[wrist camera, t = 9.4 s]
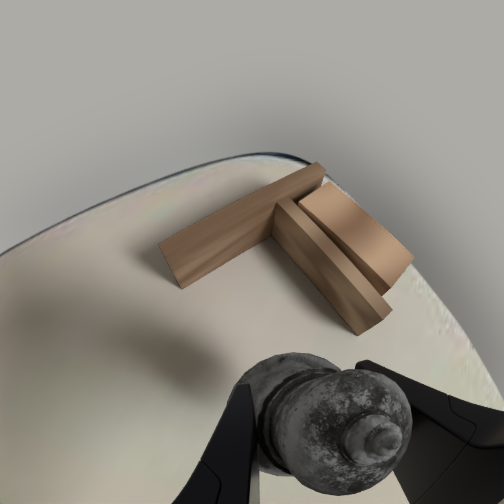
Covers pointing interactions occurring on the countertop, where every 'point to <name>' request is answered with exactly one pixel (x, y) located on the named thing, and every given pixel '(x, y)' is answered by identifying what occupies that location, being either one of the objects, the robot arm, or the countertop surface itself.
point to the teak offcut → (357, 236)
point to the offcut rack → (290, 239)
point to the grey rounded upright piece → (327, 422)
